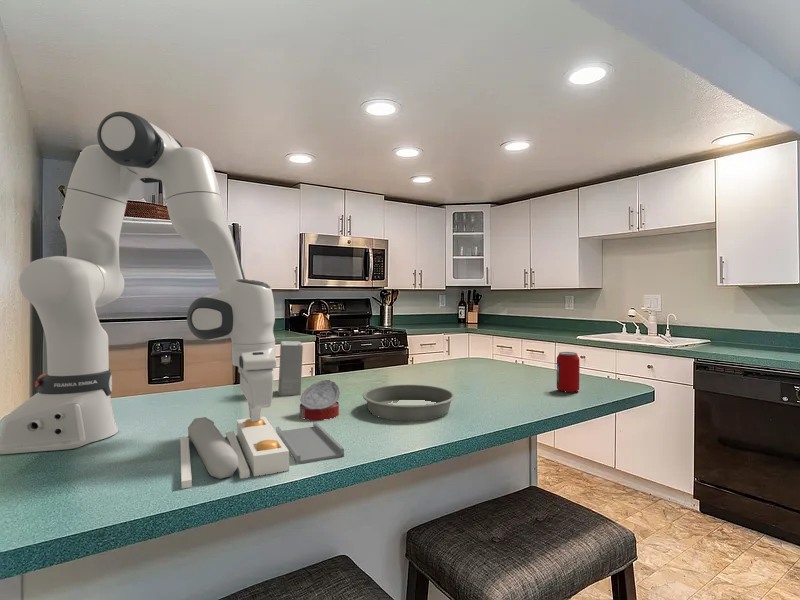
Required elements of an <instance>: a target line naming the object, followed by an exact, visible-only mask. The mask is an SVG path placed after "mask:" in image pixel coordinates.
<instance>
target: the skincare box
mask: <svg viewBox="0 0 800 600" xmlns="http://www.w3.org/2000/svg"><path fill="white" fill-rule="evenodd" d="M279 347H280V350H279V371H278V372H279V373H278V386H277V387H278V389H277V390H278V394H279V396H281V397H282V396H283V397H284V396H285V397H286V396H287V397H288V396H302V373H303V372H302V371H303V349H304V345H303V342H302V341H300V340H298V341H297V340H296V341H294V340H293V341H292V340H291V341H290V340H282V341H280V345H279Z"/></svg>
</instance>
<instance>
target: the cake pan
mask: <svg viewBox="0 0 800 600" xmlns="http://www.w3.org/2000/svg"><path fill="white" fill-rule="evenodd" d="M362 397H363V399H364V401H366V404H367V409H368V412H369V411H370V412H369V413H370V414H371V413H372V414H371V415H373V416H375V415H376V417H378V416H379V417H378V418H381V417H382V419H386V418H387V419H388V420H392V419H394V420H393V421H424V420H423V419H426V420H431V419H430V418H433V419H436V418H435V417H437V418H440V417H439V416H441V417H443V416H445V415H447V414H448V413H449V411H450V406H451V402H452V401H453V400H455V398H456V394H455V393H454V392H453V391H451V390H449V389H447V388H443V387H440V386H439V387H438V386H433V385H425V384H390V385H383V386H382V385H381V386H377V387H374V388H373V387H372V388H371V389H368V390H366V391H364V392H363V393H362ZM399 400H425V401H431V402H436V403H434V404H426V405H393V404H388V403H391V402H392V401H393V403H397V402H398V401H399ZM447 412H448V413H447ZM446 413H447V414H446ZM444 414H445V415H444ZM442 415H443V416H442ZM387 419H386V420H387Z"/></svg>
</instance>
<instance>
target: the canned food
mask: <svg viewBox="0 0 800 600" xmlns="http://www.w3.org/2000/svg"><path fill="white" fill-rule="evenodd" d="M340 394H341V392H340V389H339V386H338V385H337V383H336V382H335V381H332V380H330V379H324V380H320V381H317V382H315V383H313V384H311V385H310V386H309V387H307V388H306V389H305V390H304V391H303V392H302V393H301V395H300V399H299V400H300V404H299V418H301V417H302V418H305V419H309V420H308V421H325V420H324V419H328V420H331V419H330V418H332V419H334V417H335V418H337V417H338V416H339V415H340V410H339V408H340V407H339V406H340V403H339V402H338V400H339V399H340ZM336 416H337V417H336ZM302 418H301V419H302ZM305 419H304V420H305Z"/></svg>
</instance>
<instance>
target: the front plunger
mask: <svg viewBox="0 0 800 600" xmlns="http://www.w3.org/2000/svg"><path fill="white" fill-rule="evenodd" d="M276 448H277V441H276V440H263V441H260V442H258V443H257V451H263V450H270V449H276Z"/></svg>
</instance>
